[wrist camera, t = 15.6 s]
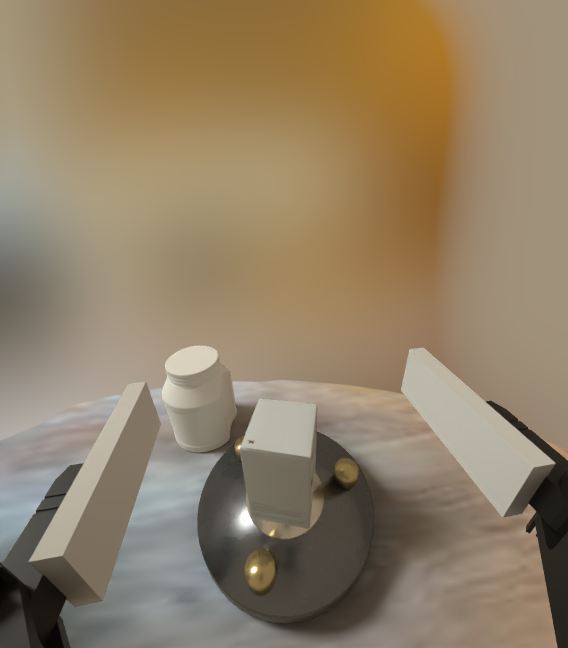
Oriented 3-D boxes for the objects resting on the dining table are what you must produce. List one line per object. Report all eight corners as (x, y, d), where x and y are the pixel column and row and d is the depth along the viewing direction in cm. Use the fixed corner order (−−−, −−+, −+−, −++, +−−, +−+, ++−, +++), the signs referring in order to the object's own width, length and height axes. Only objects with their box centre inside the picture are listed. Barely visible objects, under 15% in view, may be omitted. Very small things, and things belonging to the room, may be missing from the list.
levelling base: (164, 583, 30) (151, 559, 27) (245, 428, 48) (241, 406, 46) (369, 672, 24) (376, 653, 21) (371, 457, 42) (375, 433, 40)
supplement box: (310, 531, 30) (311, 460, 25) (249, 518, 32) (236, 448, 26) (317, 471, 37) (318, 403, 31) (265, 462, 38) (257, 395, 33)
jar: (224, 454, 44) (209, 383, 37) (169, 452, 45) (144, 382, 38) (240, 403, 54) (230, 340, 47) (195, 402, 55) (178, 340, 48)
